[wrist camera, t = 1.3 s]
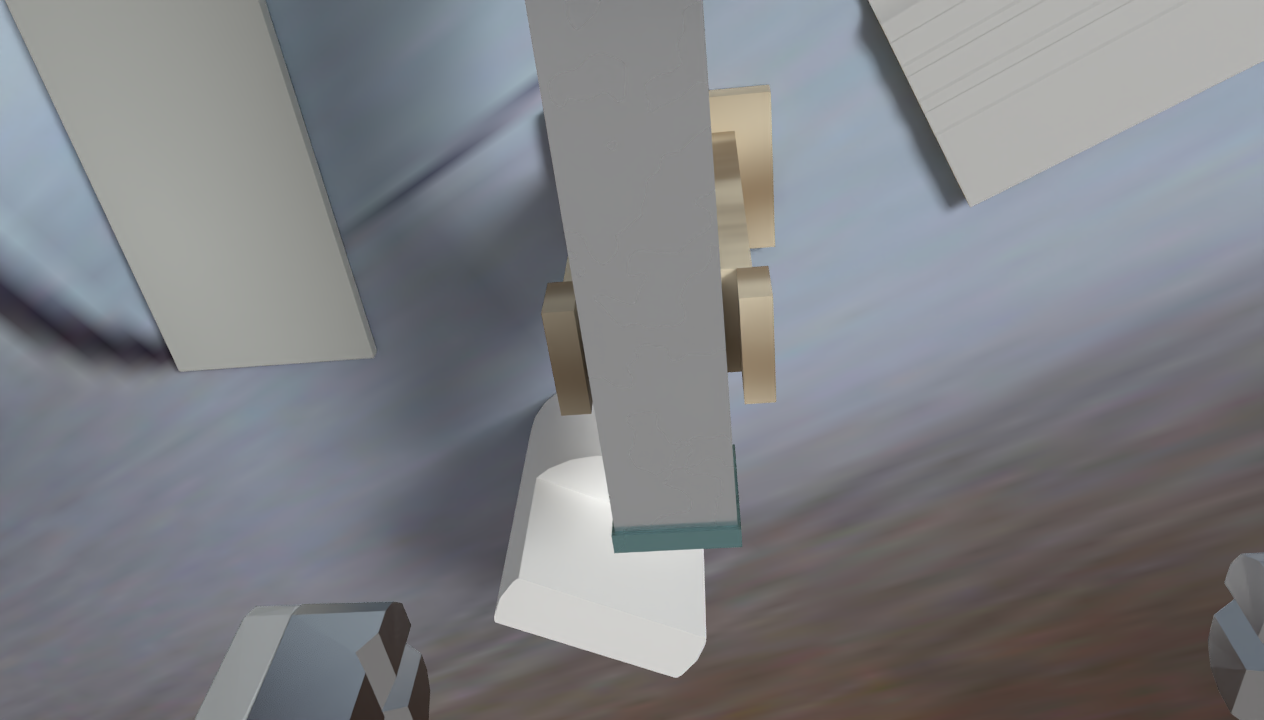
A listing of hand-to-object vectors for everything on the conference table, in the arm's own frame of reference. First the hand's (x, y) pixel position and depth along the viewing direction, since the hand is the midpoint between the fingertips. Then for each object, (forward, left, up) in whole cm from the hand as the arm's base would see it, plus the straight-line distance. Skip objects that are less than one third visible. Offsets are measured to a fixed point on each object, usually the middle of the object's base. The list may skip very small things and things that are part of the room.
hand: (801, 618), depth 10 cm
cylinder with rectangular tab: (+24, -6, -32) cm, 41 cm away
